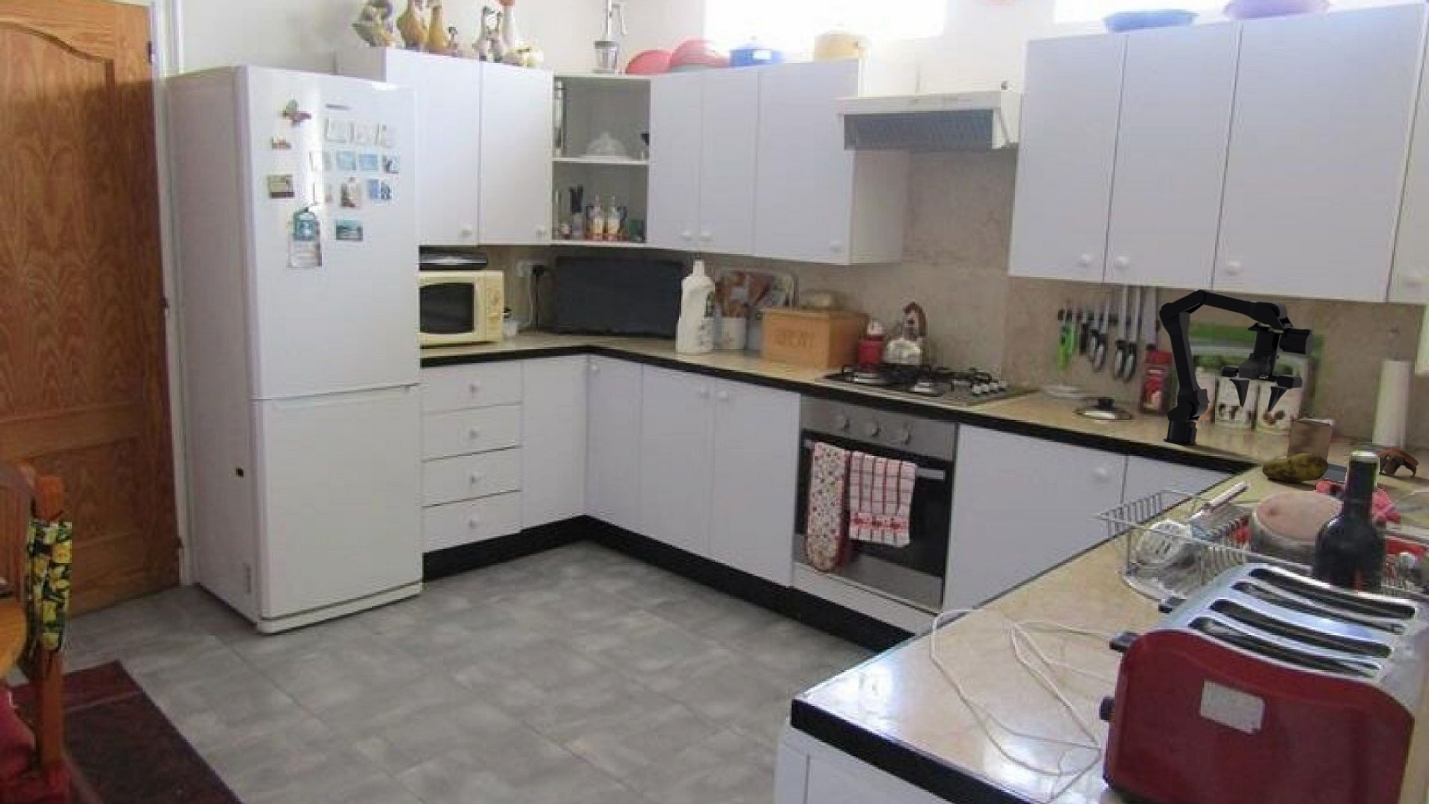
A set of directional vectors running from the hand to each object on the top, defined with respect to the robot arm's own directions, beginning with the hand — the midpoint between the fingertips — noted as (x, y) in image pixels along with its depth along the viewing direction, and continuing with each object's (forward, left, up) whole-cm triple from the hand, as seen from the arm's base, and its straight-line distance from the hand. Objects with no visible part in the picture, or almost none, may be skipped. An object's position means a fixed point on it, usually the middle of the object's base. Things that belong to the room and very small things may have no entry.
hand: (1255, 408), depth 270 cm
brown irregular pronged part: (+28, +18, -13) cm, 36 cm away
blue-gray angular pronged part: (+19, -2, -13) cm, 23 cm away
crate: (+15, -2, -13) cm, 20 cm away
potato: (+21, -20, -13) cm, 32 cm away
